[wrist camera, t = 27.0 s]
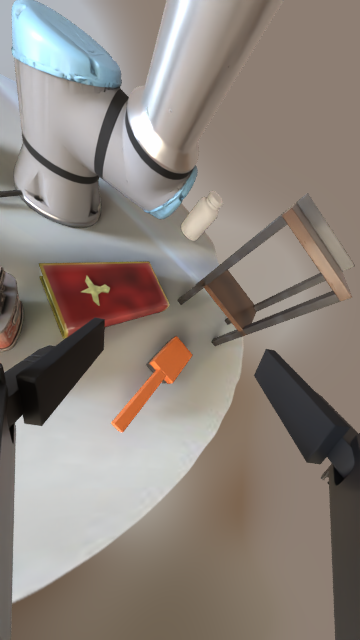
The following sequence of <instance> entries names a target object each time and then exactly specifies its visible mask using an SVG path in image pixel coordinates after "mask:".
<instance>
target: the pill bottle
mask: <svg viewBox="0 0 360 640" xmlns="http://www.w3.org/2000/svg"><path fill="white" fill-rule="evenodd" d="M222 205H223V201H222V199H221V197H220V196H219V195H218V194H217V193H216V192H215V191H211V192H210V193H209V195H208V197H202V198H201V199H200V200H199V201H198V202H197V204H196V205H195V206H194V208H193V209H192V210H191V212H190V213H189V215H188V216H187V217H186V219H185V220H184V221H183V223H182V224H181V230H182V232H183V234H184V235H185V236H186V237H187V238H188V239H190V240H192V241H195V240H197V239H198V238H199V237H200V236H201V235H202V233H203V232H204V231H205V230H206V229H207V228H208V227H209V226H210V225H211V224H212V222H213V221H214V220H215V219H216V218H217V216H218V209H219V208H220V207H221V206H222Z"/></svg>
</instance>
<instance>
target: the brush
mask: <svg viewBox="0 0 360 640" xmlns="http://www.w3.org/2000/svg"><path fill="white" fill-rule="evenodd" d="M191 357H192V354H191V352H190V351H189V350H188V349H187V348H186V347H185V345H184V344H183V343H182V342H181V341H180V339H179V338H178V337H177V336H176V337H174V338H172V339H171V340H170V341H169V342H167V343H166V344H165V345H164V346H163V348H162V349H161V350H160V351H159V352H158V353H157V354H156V355H155V356H154V357H153V358H152V359H151V360H150V361H149V363H148V364H147V366H148V367H149V369H150V370H151V371H152V372H153V374H152V375H151V376H150V378H149V379H148V380H147V381H146V382H145V383H144V385H143V386H142V387H141V388H140V389H139V390H138V392H137V393H136V394H135V395H134V396H133V397H132V399H131V400H130V401H129V402H128V403H127V405H126V406H125V407H124V408H123V409H122V410H121V412H120V413H119V414H118V415H117V416H116V417H115V419H114V420H113V421H112V422H111V424H112V425H113V426H114V427H115V428H116V429H117V430H118V431H120V432H124V430H125V429H126V428H127V426H128V425H129V424H130V423H131V421H132V420H133V419H134V417H135V416H136V415H137V413H138V412H139V411H140V410H141V408H142V407H143V406H144V404H145V403H146V402H147V400H148V399H149V398H150V396H151V395H152V394H153V393H154V391H155V390H156V389H157V387H158V386H159V385H160V383H161V382H162V383H167V384H170V383H173V382H174V381H175V379H176V378H177V376H178V375H179V374H180V372H181V371H182V369H183V368H184V367H185V365H186V364H187V362H188V361H189V359H190V358H191Z"/></svg>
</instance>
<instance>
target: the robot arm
mask: <svg viewBox="0 0 360 640" xmlns="http://www.w3.org/2000/svg"><path fill="white" fill-rule="evenodd" d="M283 1H284V0H167V1H166V5H165V9H164V13H163V17H162V21H161V25H160V29H159V33H158V37H157V41H156V45H155V49H154V53H153V57H152V61H151V65H150V69H149V72H148V76H147V80H146V84H145V86H139V87H137V88H135V89H134V90H133V91H132V92H131V94H130V96H129V97H128V96H127V95H126V94H125V93H124V92H123V91H122V90H121V89H120V86H121V83H122V80H121V71H120V68H119V66H118V65H117V63H116V62H115V61H114V60H113V59H112V57H111V56H110V55H109V53H107V51H105V50H104V48H103V47H101V46H100V45H99V44H98V43H97V42H96V41H95V40H94V39H92V38H91V37H90V36H89V35H87V34H86V33H85V32H84V31H83V30H81V29H80V28H79V27H77V26H76V25H75V24H73V23H72V22H71V21H69V20H68V19H66V18H65V17H63V16H62V15H60V14H59V13H57V12H56V11H54V10H53V9H51V8H49V7H47V6H45V5H44V4H42V3H40V2H38V1H35V0H16V1H15V2H14V4H13V6H12V41H13V46H12V55H13V56H14V62H15V72H16V82H17V91H18V101H19V110H20V119H21V129H22V138H23V144H22V147H21V150H20V153H19V156H18V159H17V162H16V164H15V167H14V183H15V188H16V190H13V191H0V197H7V196H20V197H21V198H22V200H23V201H24V202H25V203H26V204H27V205H28V206H29V207H31V208H32V209H33V210H34V211H36V212H37V213H39V214H40V215H42V216H44V217H45V218H47V219H49V220H52V221H54V222H56V223H59V224H62V225H66V226H71V227H88V226H91V225H93V224H95V223H96V222H97V221H98V219H99V216H100V212H101V201H100V193H99V183H98V180H99V177H101V178H102V179H103V180H105V181H106V182H107V183H109V184H110V185H111V186H113V187H114V188H115V189H117V190H118V191H119V192H121V193H122V194H123V195H125V196H126V197H127V198H128V199H130V200H131V201H132V202H134V203H135V204H136V205H138V206H139V207H140V208H142V209H143V210H144V211H145V212H147V213H150V214H151V215H153V216H154V217H156V218H158V219H165V218H167V217H168V216H170V215H171V214H172V213H173V212H174V211H175V210H176V209H177V208H178V207H179V205H180V204H181V203H182V200H183V199H184V198H185V197H186V196H187V194H188V193H189V191H190V189H191V188H192V186H193V184H194V182H195V179H196V177H197V167H196V163H197V160H198V156H199V147H198V140H199V139H200V137H201V135H202V134H203V132H204V131H205V129H206V127H207V126H208V124H209V122H210V121H211V119H212V117H213V116H214V114H215V112H216V111H217V109H218V108H219V106H220V104H221V102H222V101H223V99H224V97H225V96H226V94H227V93H228V91H229V89H230V88H231V86H232V84H233V83H234V81H235V80H236V78H237V76H238V75H239V73H240V71H241V70H242V68H243V66H244V65H245V63H246V61H247V60H248V58H249V57H250V55H251V53H252V52H253V50H254V48H255V47H256V45H257V43H258V42H259V40H260V38H261V37H262V35H263V33H264V32H265V30H266V29H267V27H268V25H269V24H270V22H271V20H272V19H273V17H274V15H275V14H276V12H277V10H278V9H279V7H280V5H281V4H282V2H283ZM104 329H105V319H101V318H96V317H95V318H93V319H92V320H90V321H89V322H88V323H86V324H85V325H84V326H82V327H81V328H80V329H78V330H77V331H75V332H74V333H73V334H71V335H70V336H69V337H67V338H66V339H65V340H63V341H62V342H60V343H59V344H58V345H56V346H50V345H49V346H47V347H44V348H42V349H39V350H38V351H36V352H35V353H33V354H32V355H31V356H29V357H27V358H26V359H24V361H21V362H20V363H18V364H17V365H15V366H14V367H12V368H11V369H9V370H8V371H6V372H5V373H4V370H3V366H2V364H1V363H0V640H11V611H12V570H13V528H14V485H15V443H16V425H15V422H16V421H17V420H18V419H19V418H20V417H21V416H22V415H23V418H24V423H25V424H32V425H39V426H42V425H43V424H44V423H45V421H46V420H47V419H48V418H49V417H50V415H51V414H52V413H53V412H54V410H55V409H56V408H57V407H58V405H59V404H60V403H61V402H62V400H63V399H64V398H65V397H66V396H67V394H68V393H69V392H70V391H71V389H72V388H73V387H74V386H75V384H76V383H77V382H78V381H79V379H80V378H81V377H82V376H83V374H84V373H85V372H86V371H87V370H88V368H89V367H90V366H91V365H92V363H93V362H94V361H95V360H96V358H97V357H98V356H99V355H100V353H101V352H102V351H103V350H104ZM254 376H255V378H256V380H257V381H258V383H259V384H260V386H261V388H262V389H263V391H264V393H265V394H266V396H267V398H268V399H269V401H270V403H271V404H272V406H273V407H274V409H275V411H276V413H277V414H278V416H279V417H280V419H281V420H282V422H283V424H284V426H285V427H286V429H287V430H288V432H289V434H290V436H291V437H292V439H293V440H294V442H295V444H296V445H297V447H298V449H299V450H300V452H301V454H302V455H303V457H304V459H305V460H306V462H308V463H315V464H321V463H322V462H323V461H324V459H325V458H326V457H328V459H329V460H330V461H331V462H332V464H331V465H330V466H329V468H328V469H327V470H326V471H325V472H324V474H323V475H322V477H321V479H322V480H324V479H325V478H326V477H329V482H328V484H329V491H330V492H329V493H330V518H331V543H332V565H333V567H332V568H333V593H334V617H335V640H360V433H359V434H358V433H357V432H356V431H355V430H354V429H353V428H352V427H351V426H350V425H349V424H348V423H347V422H346V421H345V420H344V419H343V418H342V417H341V416H340V415H339V414H338V412H337V411H335V410H334V409H333V408H332V406H331V405H329V404H328V402H327V401H326V400H325V399H324V398H323V397H322V396H320V395H319V394H318V393H316V392H315V391H314V390H313V389H312V388H311V387H310V386H309V385H308V384H307V383H306V382H305V381H304V380H303V379H302V378H301V377H300V376H299V375H298V374H297V373H296V372H295V371H294V370H293V369H292V368H291V367H290V366H289V365H288V364H287V363H286V362H285V361H284V360H283V359H282V358H281V356H280V355H279V354H277V353H276V351H274V350H268V349H266V350H265V353H264V355H263V357H262V359H261V362H260V364H259V366H258V368H257V370H256V373H255V375H254Z"/></svg>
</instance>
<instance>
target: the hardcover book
mask: <svg viewBox="0 0 360 640" xmlns="http://www.w3.org/2000/svg"><path fill="white" fill-rule="evenodd" d="M39 267H40V269H41V272H42V274H43V276H40V280H41V282H42V285H43V287H44V290H45V293H46V295H47V298H48V300H49V303H50V306H51V308H52V311H53V313H54V316H55V319H56V321H57V324H58V326H59V329H60V332H61V334H62V337H63V339H64V338H67V337H69V336H70V335H71V334H73V333H74V332H75V331H77V330H78V329H80V328H81V327H82V326H84V325H85V324H86V323H88V322H89V321H90V320H92V319H93V318H95V317H96V318H101V319H105V327H107V326H111V325H115V324H118V323H122V322H126V321H129V320H133V319H136V318H140V317H144V316H147V315H151V314H154V313H158V312H162V311H164V310H166V309H167V308H168V307H169V302H168V300H167V298H166V296H165V294H164V291H163V289H162V287H161V285H160V283H159V281H158V279H157V277H156V275H155V273H154V271H153V268H152V266H151V264H150V262H94V263H39Z"/></svg>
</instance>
